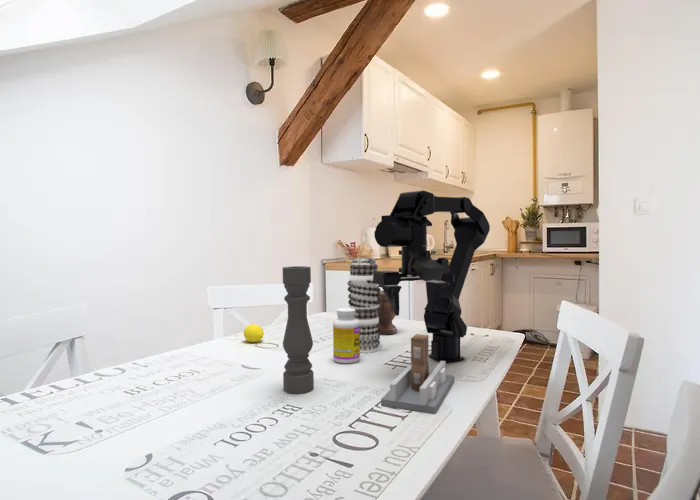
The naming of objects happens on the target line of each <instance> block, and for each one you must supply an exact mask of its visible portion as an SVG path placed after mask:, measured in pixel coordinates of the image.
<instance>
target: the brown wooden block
mask: <svg viewBox="0 0 700 500" xmlns="http://www.w3.org/2000/svg"><path fill="white" fill-rule="evenodd" d="M429 348H430V347H429V335H428V334H421V333H420V334H418V333H416V334H415V335H413V336H412V337H411V338H410V364H411V389H412V390H420V387H421V386H422V384H423V383H424V382H425V381H426V379H427V378H428V377H429V373H430V372H429V370H430V369H429V367H430V366H429V365H430V363H429V358H430V357H429V355H430V353H429V352H430V351H429Z"/></svg>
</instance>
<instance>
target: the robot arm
mask: <svg viewBox="0 0 700 500" xmlns="http://www.w3.org/2000/svg"><path fill="white" fill-rule="evenodd" d="M435 213H450V216H451V217H450V218H451V219H450V225H451V226H452V228H453V230H454V232H453V236H454V240H455V244H456V245H455V247H454V251H453V253H452V256H451V259H450V262H449V259H448V258H447V257H438V258H437V259H433V258H432V256H431V255H432V252H431V250H427V249H428V247H427V246H428V244H427V243H428V242H427V240H428V239H427V233H428V231H427V228H428V227H432V226H433V223H432V221H430V220H429V219H428V218H427V216H429V215H433V214H435ZM464 213H465V215H466V216H467V217H461V218H460V216H459V214H464ZM490 229H491V227H490V222H489V221H488V218H487V217H486V215H485V213H484V212H483V211H482V210H481V209H479V208H478V207H477V206H476V205H474V204H473V203H472V201H471V199H470V198H469V197H467V196H461V197H458V196H457V197H451V196H436V195H435V194H434V193H433V192H430V191H427V190H424V189H423V190H415V191H405V192H400V193H399V196H398V198H397V200H396V202H395V204H394V206H393V208H392V209H391V212H390V214H388V215H381V221H380V222H378V224H377V225H376V227H375V230H374V233H373V234H374V239H375V241H376V244H377V245H379V246H380V247H382V248H393V247H395V248H396V247H401V250H398V255H399V256H401V267H399V268H398V271H395V270H378V271H376V272H375V273H374V275H373V283H375V284H377V285H378V287H379V288H381V289H382V291H383V290H384V292H385V294H386V296H387V297H388V300H389V302H390V304H391V306H392V309H393V311H394V313H395V315H396V316H397V317H398V316H399V315H400V292H401V289H402V288H403V286H401V285H399V284H400V283H401V282H409V281H410V282H411V281H423V282H425V289H426V290H425V291H426V300H427V301H426V302H427V303H426V306H425V307H424V309H423V310H424V313H423V320H424V324H425V328H426V332H427V334H432V340H431V341H430V343H431V345H430V348H431V351H430V353H429V358H431V359H434V360H436V361H438V362H440V361H446V364H447V363H451V362H459V361H464V360H465V357H464V356H461V338H464V337H465V336H466V335H467V330H468V326H467V324H466V323H465V322H464V320H463V319H462V317H461V315H462V307H461V304H460V296H461V294H462V291H463V287H464V284H465V281H466V278H467V275H468V272H469V269H470V267H471V264H472V260H473V257H474V254H475V252H476V250H477V249H478V248H479V247H481V246H482V245H484V243H485V242H486V240H487V237H488V235H489V232H490ZM396 316H395V317H396Z"/></svg>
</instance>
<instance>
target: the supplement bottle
mask: <svg viewBox="0 0 700 500" xmlns="http://www.w3.org/2000/svg"><path fill="white" fill-rule="evenodd" d="M355 314H356V310H355V309H353V308H350V307H341V308H337V309H336V315H337V318H336V319H334V320H333V323H332V330H333V331H332V334H333V335H332V336H333V337H332V339H333V340H332V341H333V342H332V344H333V345H332V346H333V347H332V348H333V349H332V351H333V352H332V353H333V355H332V356H333V361H334V362H336V363H338V364H354V363H357V362H358V361H360V358H361V353H360V325H359V321H358V320H357V319H355Z"/></svg>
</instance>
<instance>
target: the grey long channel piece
mask: <svg viewBox="0 0 700 500" xmlns="http://www.w3.org/2000/svg"><path fill="white" fill-rule="evenodd" d="M454 383H455V376H454V375H448V374H447V363H446V361H439V363H438V364H437V366H436V367H434V369H433V371H432V372H431V373H430V372H429V377H428V378H427V379H426V381H425V382H424V383H423V384H422V386H421V387H420V390H412V389H411V363H410V364H408V365H407V366H406V368H404V369H403V371H401V372H400V373H399V374H398V376H396V378H395V379H393V380H392V381H391V383H390V384H389V390H388V391H387V392H386V393H385V395H384V396H383V397H381V399H380V406H381V407H389V408H395V409H401V410H402V409H403V410H407V411H415V412H421V413H427V414H433V415H435V414H436V413H437V412H438V410H439V408H440V407H441V405H442V403H443V401H444V400H445V399H446V398H445V397H446V396H447V395H448V393H449V391H450V389H451V387H452V386H453V384H454Z"/></svg>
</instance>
